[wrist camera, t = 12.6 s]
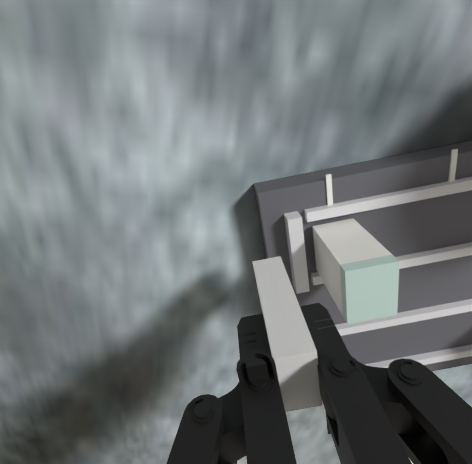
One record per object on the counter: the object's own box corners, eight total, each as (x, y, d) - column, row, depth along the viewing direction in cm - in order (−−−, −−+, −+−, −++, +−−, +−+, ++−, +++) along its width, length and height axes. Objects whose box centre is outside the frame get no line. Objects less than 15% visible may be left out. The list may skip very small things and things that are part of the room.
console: (286, 378, 27) (294, 411, 24) (252, 179, 19) (259, 193, 16) (545, 330, 26) (584, 358, 23) (613, 107, 19) (681, 110, 16)
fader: (316, 269, 19) (347, 324, 15) (312, 226, 18) (344, 271, 14) (354, 262, 19) (397, 314, 15) (353, 218, 18) (399, 261, 14)
